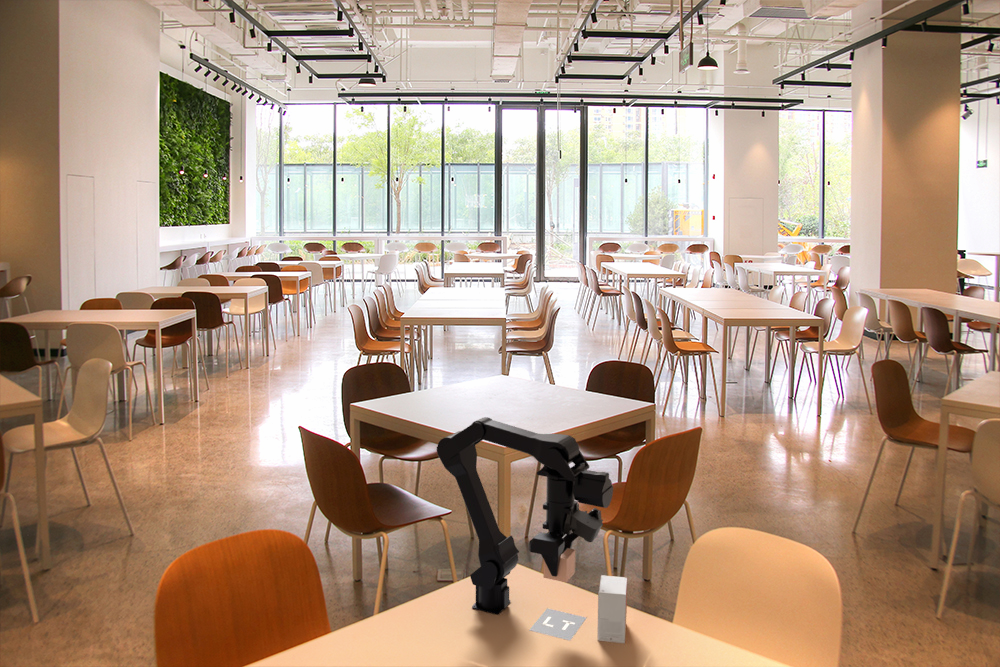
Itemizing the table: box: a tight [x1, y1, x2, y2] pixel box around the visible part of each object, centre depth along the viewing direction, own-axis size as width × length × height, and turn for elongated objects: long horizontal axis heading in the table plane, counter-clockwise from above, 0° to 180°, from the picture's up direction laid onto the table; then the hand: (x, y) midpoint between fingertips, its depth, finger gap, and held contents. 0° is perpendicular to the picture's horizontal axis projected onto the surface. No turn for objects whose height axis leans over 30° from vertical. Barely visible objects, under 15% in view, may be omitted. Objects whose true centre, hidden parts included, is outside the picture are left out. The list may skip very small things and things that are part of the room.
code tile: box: [529, 607, 587, 642], centre depth 161 cm, size 9×10×1 cm
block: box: [543, 548, 576, 583], centre depth 159 cm, size 5×5×5 cm
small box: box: [596, 574, 628, 644], centre depth 157 cm, size 8×6×10 cm
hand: (559, 570), depth 159 cm, fingers closed on block, 5 cm apart
